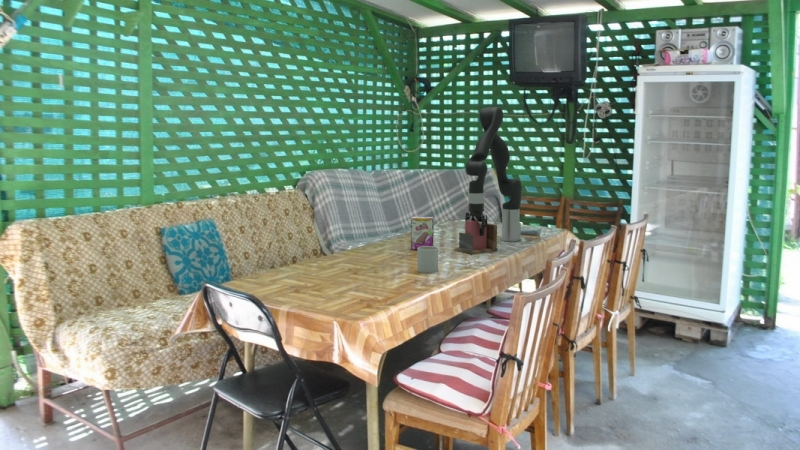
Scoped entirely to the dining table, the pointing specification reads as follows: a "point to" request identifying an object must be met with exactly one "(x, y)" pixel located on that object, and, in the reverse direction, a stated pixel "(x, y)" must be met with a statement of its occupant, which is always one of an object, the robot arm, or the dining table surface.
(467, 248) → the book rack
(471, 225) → the burgundy book
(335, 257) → the dining table surface
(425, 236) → the candy bar box
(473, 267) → the dining table surface
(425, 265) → the mug
